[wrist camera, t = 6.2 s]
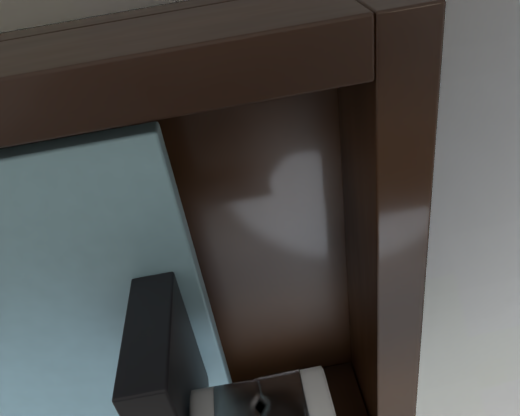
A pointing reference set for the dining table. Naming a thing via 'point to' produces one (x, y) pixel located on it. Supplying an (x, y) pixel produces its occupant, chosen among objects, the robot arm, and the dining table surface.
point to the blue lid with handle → (100, 281)
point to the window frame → (272, 165)
